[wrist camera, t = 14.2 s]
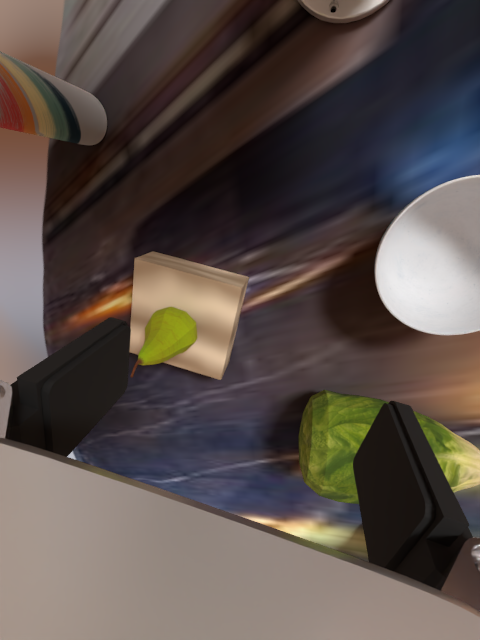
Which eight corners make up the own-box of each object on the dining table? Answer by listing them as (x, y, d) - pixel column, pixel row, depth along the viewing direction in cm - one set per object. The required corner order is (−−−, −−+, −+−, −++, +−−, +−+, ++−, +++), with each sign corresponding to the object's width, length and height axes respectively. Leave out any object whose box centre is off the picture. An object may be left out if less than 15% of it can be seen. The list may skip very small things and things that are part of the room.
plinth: (153, 251, 42) (134, 258, 37) (248, 277, 41) (241, 287, 36) (145, 336, 48) (128, 351, 43) (228, 361, 46) (220, 380, 42)
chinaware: (439, 329, 38) (469, 359, 31) (337, 273, 38) (344, 291, 31) (541, 220, 32) (607, 228, 25) (418, 151, 32) (450, 140, 25)
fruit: (200, 299, 38) (158, 343, 27) (206, 343, 40) (169, 399, 29) (154, 300, 39) (96, 341, 28) (162, 342, 41) (111, 395, 31)
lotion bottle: (63, 133, 38) (-155, 80, 20) (71, 82, 36) (-169, -30, 18) (102, 154, 38) (-79, 121, 20) (113, 105, 36) (-83, 16, 18)
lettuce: (448, 465, 46) (499, 561, 34) (295, 440, 50) (291, 518, 38) (480, 390, 40) (553, 473, 28) (304, 368, 44) (303, 433, 32)
